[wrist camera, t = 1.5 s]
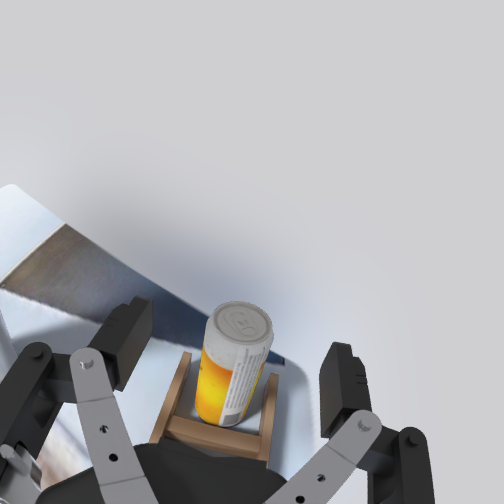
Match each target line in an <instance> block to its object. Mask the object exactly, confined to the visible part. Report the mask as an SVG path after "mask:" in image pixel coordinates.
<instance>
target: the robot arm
mask: <svg viewBox="0 0 504 504" xmlns="http://www.w3.org/2000/svg"><path fill="white" fill-rule="evenodd" d="M152 329H153V301H152V300H151V299H147V298H143V297H140V296H135V297H134V298H133V300H132V301H131V303H130V304H129V305H126V304H121V305H120V306H118V307H116V308H115V309H113V311H112V312H111V314H110V315H109V316H108V318H107V319H106V321H105V322H104V325H102V326H101V328H100V329H99V331H98V332H97V333H96V335H95V336H94V338H93V339H92V341H91V342H90V344H89V345H88V346H87V348H81V349H78V350H76V351H75V352H74V353H73V354H72V355H66V354H56V353H52V351H51V348H50V347H49V346H48V345H47V344H45V343H42V342H34V343H31V344H29V345H27V346H26V347H25V348H24V349H23V351H22V352H21V354H20V355H19V357H18V355H17V353H16V350H15V348H14V346H13V343H12V340H11V338H10V335H9V333H8V330H7V327H6V325H5V322H4V319H3V317H2V314H1V311H0V503H2V504H326V503H327V502H328V501H329V500H330V499H331V497H332V496H333V495H334V494H335V493H336V492H337V491H338V489H339V488H340V487H341V486H342V485H343V483H344V482H345V481H346V480H347V479H348V477H349V476H350V475H351V473H352V472H353V471H354V470H355V468H359V469H362V470H365V471H367V476H368V504H435V498H434V489H433V481H432V473H431V466H430V459H429V452H428V446H427V440H426V437H425V435H424V434H423V433H422V432H421V431H420V430H419V429H417V428H414V427H406V428H404V429H402V430H401V431H400V432H398V431H395V430H392V429H389V428H387V427H385V426H383V425H382V424H381V421H380V419H379V418H378V417H377V416H376V415H375V414H374V413H372V408H371V401H370V395H369V389H368V385H367V378H366V372H365V367H364V365H363V363H362V362H361V360H360V359H359V357H353V355H352V349H351V345H350V344H345V343H339V342H333V343H332V345H331V347H330V349H329V351H328V353H327V356H326V357H325V359H324V362H323V364H322V366H321V369H320V374H319V384H320V418H321V419H320V420H321V438H329V441H328V443H327V444H325V445H324V446H323V447H322V448H321V449H320V450H319V451H318V452H317V453H316V454H315V455H314V456H313V457H312V458H311V459H310V460H309V461H308V462H307V463H306V464H305V465H304V466H303V467H302V468H301V469H300V470H299V471H298V472H297V473H296V474H295V475H294V476H293V477H292V478H291V479H290V480H289V481H287V480H286V479H285V478H283V477H282V476H281V475H279V474H278V473H276V472H275V471H273V470H271V469H268V468H266V467H267V461H263V460H257V459H251V458H245V457H211V456H209V455H207V454H204V453H202V452H200V451H198V450H196V449H194V448H192V447H190V446H188V445H186V444H183V443H179V442H176V441H172V440H169V439H165V438H162V437H160V439H159V441H158V443H145V444H139V445H135V446H132V443H131V441H130V438H129V435H128V433H127V430H126V427H125V424H124V422H123V419H122V416H121V413H120V410H119V407H118V404H117V401H116V398H115V396H114V394H113V392H114V390H118V391H121V392H123V390H124V388H125V386H126V384H127V382H128V380H129V378H130V376H131V374H132V372H133V370H134V368H135V366H136V364H137V362H138V360H139V358H140V356H141V354H142V352H143V350H144V348H145V347H146V345H147V343H148V341H149V339H150V337H151V333H152ZM64 402H66V403H75V404H77V409H78V414H79V418H80V422H81V426H82V430H83V434H84V437H85V441H86V444H87V448H88V451H89V455H90V458H91V461H92V464H93V467H91V468H89V469H87V470H85V471H83V472H80V473H78V474H76V475H74V476H72V477H70V478H68V479H66V480H63V481H61V482H59V483H57V484H54V485H52V486H50V487H48V488H46V489H45V490H44V491H43V492H42V490H41V486H40V481H41V476H42V472H41V468H40V466H39V464H38V463H37V462H36V459H37V457H38V455H39V453H40V450H41V448H42V446H43V444H44V442H45V440H46V437H47V435H48V433H49V431H50V429H51V427H52V425H53V423H54V421H55V419H56V417H57V415H58V413H59V411H60V409H61V407H62V405H63V403H64Z"/></svg>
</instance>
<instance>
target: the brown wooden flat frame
mask: <svg viewBox="0 0 504 504" xmlns="http://www.w3.org/2000/svg"><path fill="white" fill-rule="evenodd" d="M191 356H192V353H188V352H185V351H184V353H183V355H182V358H181V360H180V363H179V365H178V368H177V370H176V373H175V375H174V378H173V380H172V383H171V385H170V388H169V390H168V393H167V395H166V398H165V401H164V403H163V406H162V408H161V411H160V413H159V416H158V419H157V421H156V424H155V426H154V429H153V432H152V434H151V437H150V440H149V442H148V443H158V441H159V439H160V437H162V438H165V439H169V440H172V441H176V442H179V443H183V444H186V445H188V446H190V447H192V448H194V449H196V450H198V451H200V452H202V453H204V454H207V455H209V456H211V457H245V458H251V459H257V460H263V461H267V467H266V468H268V462H269V454H270V446H271V438H272V430H273V422H274V413H275V404H276V395H277V386H278V377H279V375H277V374H273V373H271V374H270V376H269V379H268V381H267V384H266V386H265V392H264V399H263V406H262V413H261V420H260V426H259V433H258V436H256V435H251V434H246V433H241V432H237V431H232V430H228V429H224V428H219V427H215V426H211V425H207V424H204V423H200V422H196V421H192V420H189V419H185V418H182V417H179V416H175V415H173V414H174V412H175V409H176V406H177V403H178V400H179V398H180V395H181V392H182V389H183V386H184V384H185V381H186V378H187V375H188V373H189V370H190V365H191Z"/></svg>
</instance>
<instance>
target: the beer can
mask: <svg viewBox="0 0 504 504" xmlns="http://www.w3.org/2000/svg"><path fill="white" fill-rule="evenodd" d="M273 336H274V335H273V330H272V322H271V319H270V318H269V316H268V315H267V314H266V313H265V312H264V311H263V310H262V309H260V308H259V307H257V306H255V305H253V304H249V303H246V302H239V301H233V302H228V303H224V304H222V305H220V306H219V307H217V308H216V309H215V311H214V313H213V314H212V315H211V316H210V317H209V319H208V321H207V324H206V330H205V337H204V343H203V350H202V356H201V363H200V370H199V377H198V384H197V391H196V398H195V408H196V411H197V413H198V415H199V416H200V417H201V418H202V419H203V420H204V421H205V422H207V423H209V424H211V425H214V426H217V427H229V426H233V425H235V424H237V423H239V422H240V421H241V420H242V419H243V417H244V416H245V413H246V411H247V408H248V406H249V403H250V401H251V398H252V395H253V393H254V390H255V388H256V385H257V382H258V380H259V377H260V374H261V372H262V369H263V366H264V364H265V361H266V358H267V355H268V353H269V350H270V347H271V344H272V342H273Z"/></svg>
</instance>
